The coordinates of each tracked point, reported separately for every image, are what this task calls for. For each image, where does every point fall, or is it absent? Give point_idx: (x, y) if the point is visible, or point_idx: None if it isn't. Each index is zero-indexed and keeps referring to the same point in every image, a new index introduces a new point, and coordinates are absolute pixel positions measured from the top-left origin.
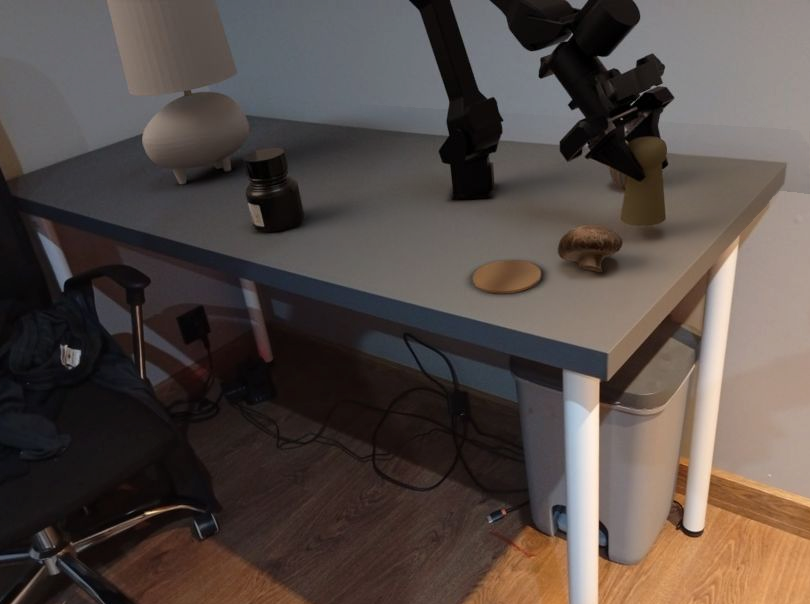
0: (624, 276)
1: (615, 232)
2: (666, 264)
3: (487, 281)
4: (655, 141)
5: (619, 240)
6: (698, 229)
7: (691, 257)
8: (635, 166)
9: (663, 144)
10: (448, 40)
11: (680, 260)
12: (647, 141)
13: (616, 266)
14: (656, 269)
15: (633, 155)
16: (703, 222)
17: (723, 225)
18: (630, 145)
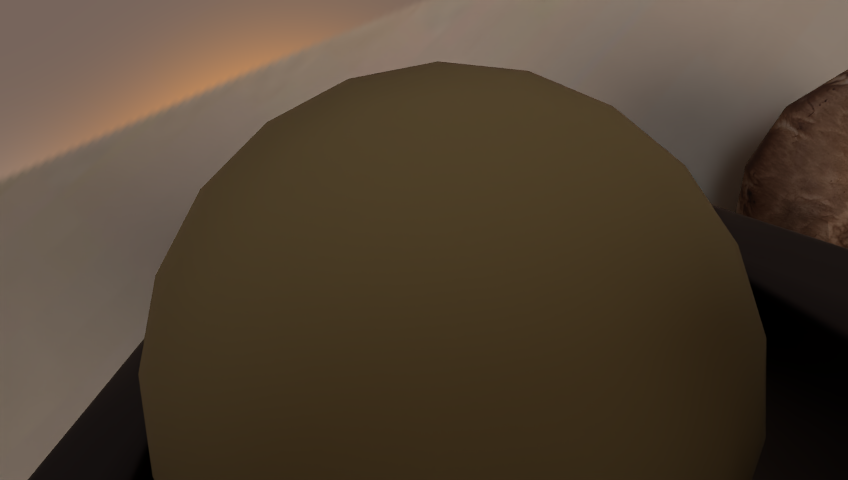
0: (775, 63)
1: (834, 134)
2: (562, 35)
3: None
4: (427, 164)
5: (835, 82)
6: (179, 215)
7: (434, 17)
8: (729, 212)
9: (331, 94)
10: None
11: (490, 25)
12: (555, 235)
13: (746, 158)
14: (627, 27)
15: (767, 272)
16: (93, 263)
17: (59, 170)
18: (753, 456)
